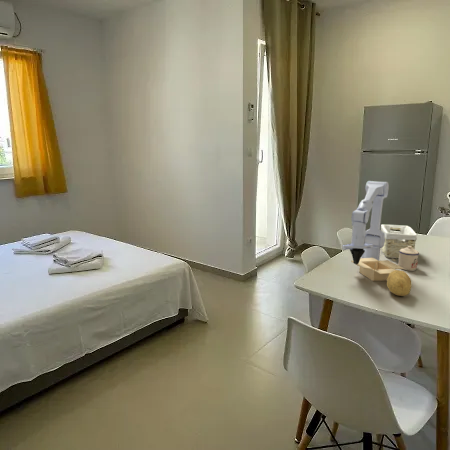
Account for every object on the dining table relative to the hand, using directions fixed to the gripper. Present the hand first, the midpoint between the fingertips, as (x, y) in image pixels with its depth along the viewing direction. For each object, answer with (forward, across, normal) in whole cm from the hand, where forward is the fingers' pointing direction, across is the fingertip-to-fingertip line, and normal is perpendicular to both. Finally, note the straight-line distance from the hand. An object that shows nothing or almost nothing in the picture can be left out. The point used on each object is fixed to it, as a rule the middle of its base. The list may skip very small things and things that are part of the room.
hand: (355, 263), depth 172 cm
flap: (0, +3, -1) cm, 3 cm away
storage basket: (+7, +44, +32) cm, 55 cm away
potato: (+7, +8, -22) cm, 24 cm away
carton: (+7, +13, 0) cm, 15 cm away
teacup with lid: (+7, +34, +8) cm, 36 cm away
